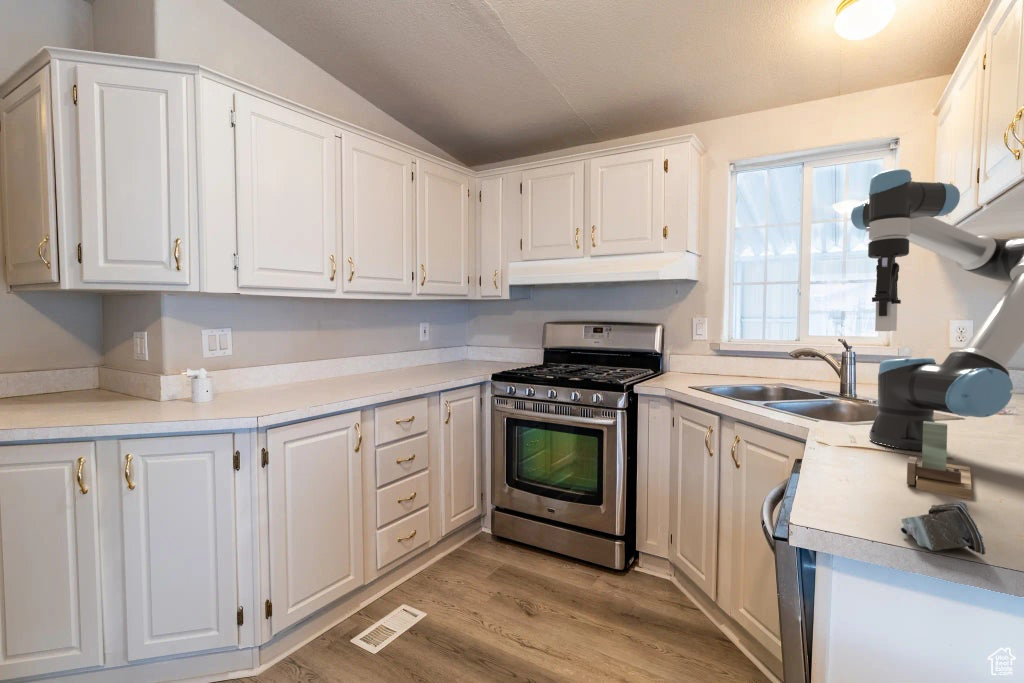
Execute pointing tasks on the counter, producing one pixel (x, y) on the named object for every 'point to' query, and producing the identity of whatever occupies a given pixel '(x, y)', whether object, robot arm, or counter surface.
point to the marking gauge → (933, 456)
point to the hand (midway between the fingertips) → (886, 331)
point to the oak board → (948, 483)
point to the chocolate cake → (945, 528)
